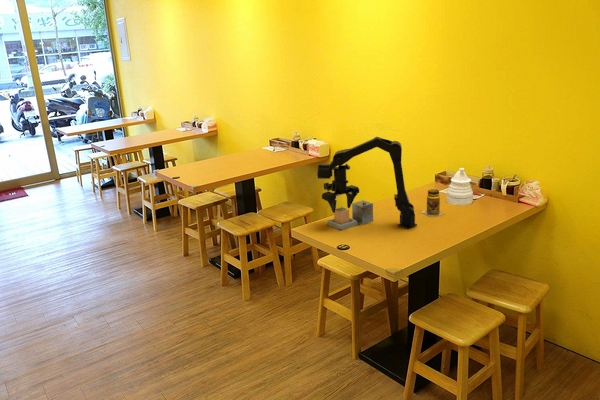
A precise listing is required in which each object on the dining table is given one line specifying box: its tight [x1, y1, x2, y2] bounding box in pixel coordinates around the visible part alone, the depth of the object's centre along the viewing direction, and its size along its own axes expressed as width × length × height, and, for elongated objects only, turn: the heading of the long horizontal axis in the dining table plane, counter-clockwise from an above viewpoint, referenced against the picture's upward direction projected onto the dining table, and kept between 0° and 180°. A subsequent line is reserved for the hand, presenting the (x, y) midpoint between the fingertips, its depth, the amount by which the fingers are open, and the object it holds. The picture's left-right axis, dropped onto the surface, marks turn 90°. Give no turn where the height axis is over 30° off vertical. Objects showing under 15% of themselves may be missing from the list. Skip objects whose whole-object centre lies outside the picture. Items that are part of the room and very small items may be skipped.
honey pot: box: [446, 167, 474, 206], centre depth 262 cm, size 13×13×18 cm
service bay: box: [327, 217, 358, 231], centre depth 242 cm, size 10×10×2 cm
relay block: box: [333, 206, 350, 225], centre depth 240 cm, size 5×5×7 cm
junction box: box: [351, 199, 374, 226], centre depth 244 cm, size 8×7×10 cm
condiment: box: [421, 188, 444, 217], centre depth 248 cm, size 7×8×12 cm
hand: (341, 210), depth 240 cm, fingers open, 9 cm apart
